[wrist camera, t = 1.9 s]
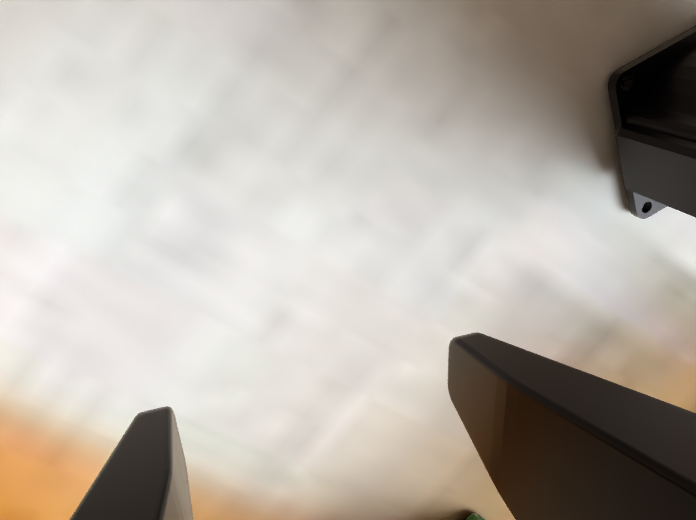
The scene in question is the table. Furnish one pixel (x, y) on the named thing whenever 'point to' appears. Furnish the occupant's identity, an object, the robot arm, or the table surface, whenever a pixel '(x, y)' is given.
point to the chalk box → (475, 517)
